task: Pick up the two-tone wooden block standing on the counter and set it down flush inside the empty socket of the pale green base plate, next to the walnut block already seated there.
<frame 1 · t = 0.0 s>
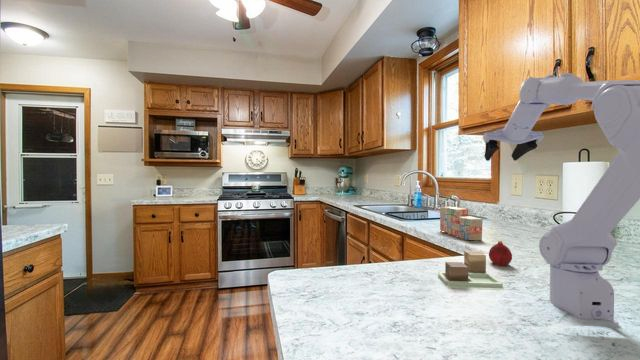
hand: (500, 158, 85), 32 cm above the countertop, tool tilted 50°, fingers open, 7 cm apart
stack of blocks: (459, 236, 130), on the countertop
two tone block: (474, 274, 79), on the countertop
onion: (500, 268, 85), on the countertop
base plate: (468, 285, 71), on the countertop
walnut block: (456, 280, 71), point 1 cm above the countertop, touching base plate
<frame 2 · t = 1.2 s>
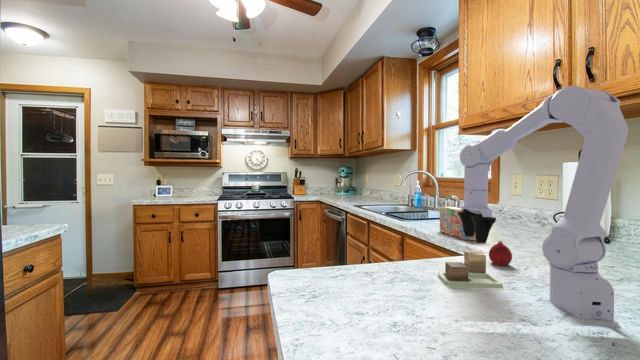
hand: (474, 239, 79), 10 cm above the countertop, tool pointing down, fingers open, 7 cm apart
nothing on the countertop moved.
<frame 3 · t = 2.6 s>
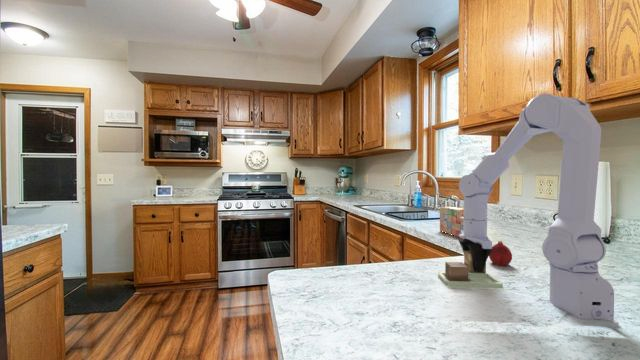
hand: (474, 268, 79), 2 cm above the countertop, tool pointing down, fingers closed on two tone block, 4 cm apart
two tone block: (474, 274, 79), on the countertop, touching gripper
everything else where it was.
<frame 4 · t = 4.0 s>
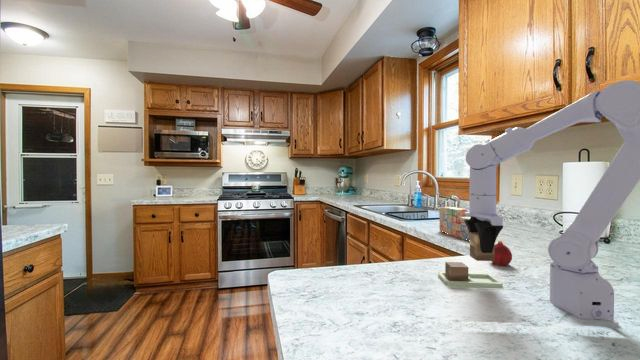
hand: (482, 250, 71), 9 cm above the countertop, tool pointing down, fingers closed on two tone block, 4 cm apart
two tone block: (481, 258, 71), point 7 cm above the countertop, touching gripper
everything else where it was.
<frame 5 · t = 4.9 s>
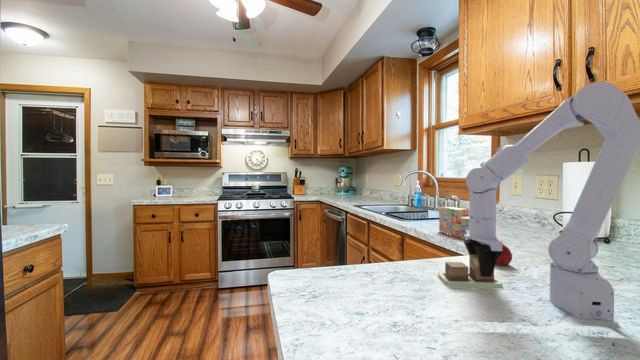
hand: (481, 272, 71), 3 cm above the countertop, tool pointing down, fingers closed on two tone block, 4 cm apart
two tone block: (481, 281, 71), point 1 cm above the countertop, touching base plate, gripper
everything else where it was.
when the fingers open (3 cm above the countertop, at t = 5.3 s): two tone block stays where it is, resting on base plate.
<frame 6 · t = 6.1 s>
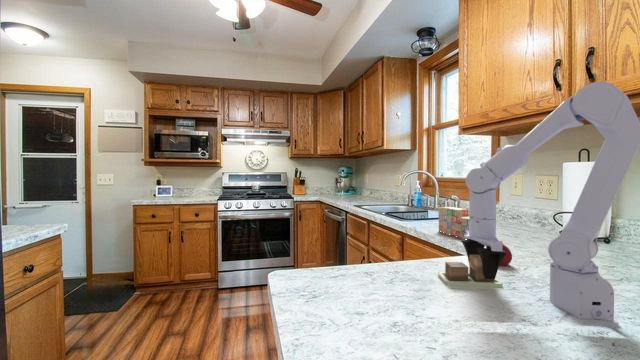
hand: (481, 273, 71), 3 cm above the countertop, tool pointing down, fingers open, 7 cm apart
two tone block: (481, 281, 71), point 1 cm above the countertop, touching base plate
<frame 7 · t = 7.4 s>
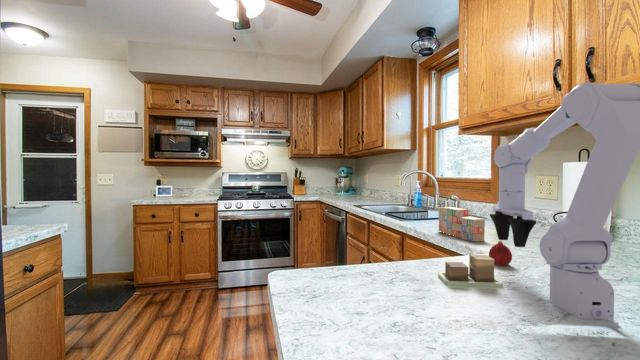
hand: (510, 243, 76), 9 cm above the countertop, tool pointing down, fingers open, 7 cm apart
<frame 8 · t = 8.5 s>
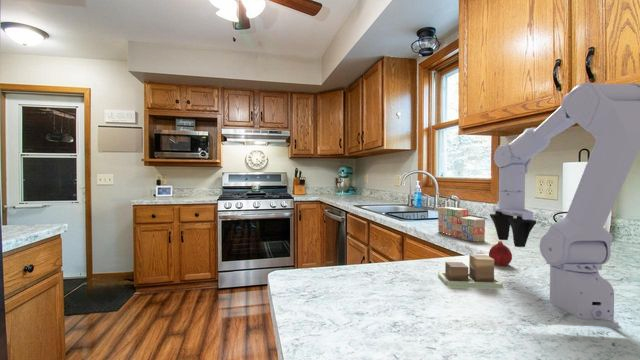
hand: (510, 243, 76), 9 cm above the countertop, tool pointing down, fingers open, 7 cm apart
at the end: two tone block 0.1 cm from the target spot on the base plate, point 1.2 cm above the base plate's base; two tone block tilted 0°; walnut block moved 0.0 cm from its start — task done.
